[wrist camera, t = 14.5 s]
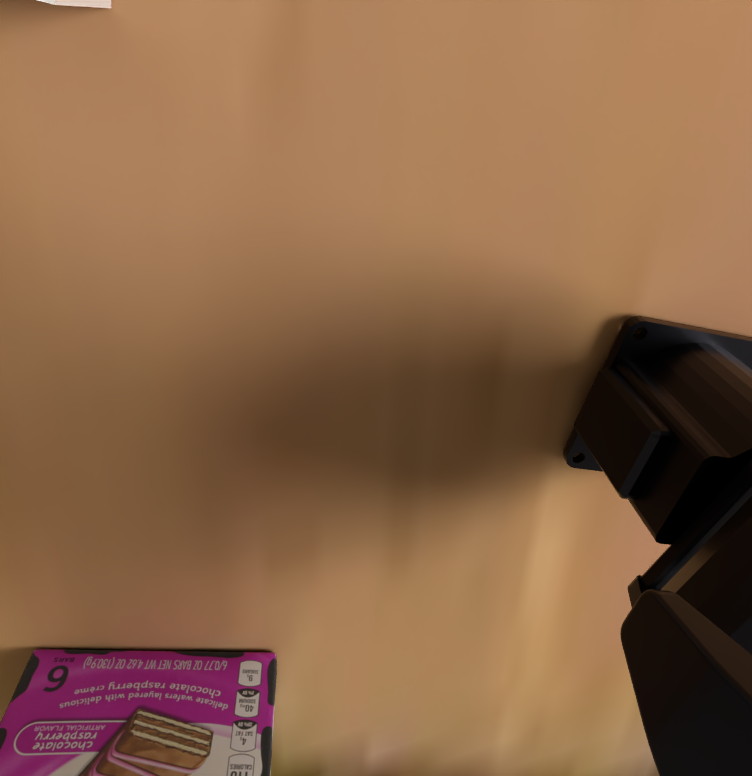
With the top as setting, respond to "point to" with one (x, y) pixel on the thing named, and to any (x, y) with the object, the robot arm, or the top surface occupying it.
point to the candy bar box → (141, 714)
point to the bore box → (81, 3)
